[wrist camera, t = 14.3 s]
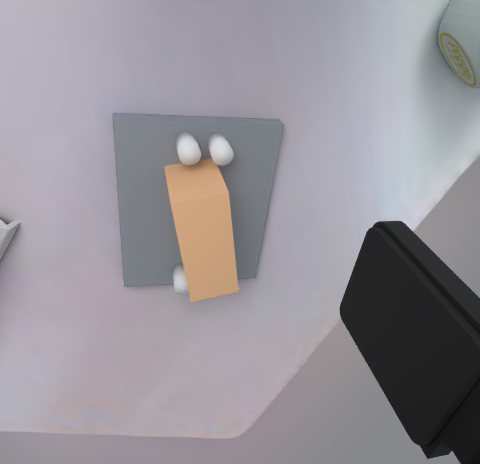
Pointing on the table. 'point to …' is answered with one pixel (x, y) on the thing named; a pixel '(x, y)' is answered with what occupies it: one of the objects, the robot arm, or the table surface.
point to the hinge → (6, 234)
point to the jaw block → (203, 228)
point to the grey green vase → (462, 39)
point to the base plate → (157, 196)
